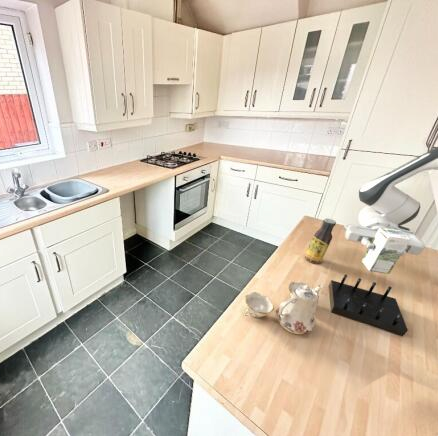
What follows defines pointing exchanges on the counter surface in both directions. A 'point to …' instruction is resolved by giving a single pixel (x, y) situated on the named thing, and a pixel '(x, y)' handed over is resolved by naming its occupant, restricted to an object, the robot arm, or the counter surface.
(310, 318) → the chinaware
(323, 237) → the sauce bottle
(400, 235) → the syrup box
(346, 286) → the dish rack
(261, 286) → the counter surface
